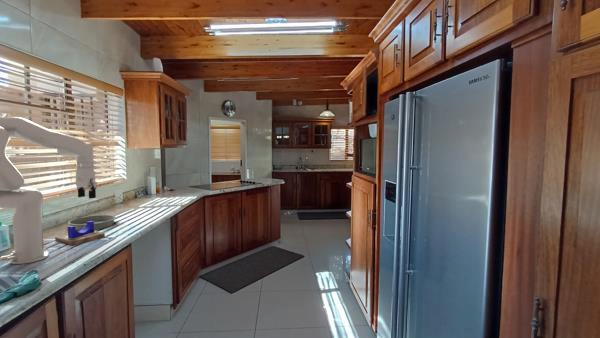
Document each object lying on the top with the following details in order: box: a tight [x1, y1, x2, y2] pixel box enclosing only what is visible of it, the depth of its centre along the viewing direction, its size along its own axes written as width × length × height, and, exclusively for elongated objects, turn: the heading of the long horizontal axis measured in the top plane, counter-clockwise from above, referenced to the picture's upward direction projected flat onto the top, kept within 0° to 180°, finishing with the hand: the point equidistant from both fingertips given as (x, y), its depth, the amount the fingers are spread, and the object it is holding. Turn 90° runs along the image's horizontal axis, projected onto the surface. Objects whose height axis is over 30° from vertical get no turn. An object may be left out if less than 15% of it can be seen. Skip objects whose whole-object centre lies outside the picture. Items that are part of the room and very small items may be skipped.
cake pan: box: [67, 214, 117, 232], centre depth 187 cm, size 25×25×4 cm
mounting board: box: [54, 230, 106, 246], centre depth 161 cm, size 16×16×2 cm
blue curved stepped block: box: [67, 221, 95, 239], centre depth 161 cm, size 12×4×6 cm, turn 164°
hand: (86, 197), depth 161 cm, fingers open, 9 cm apart
